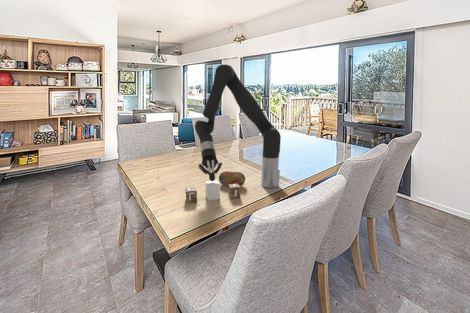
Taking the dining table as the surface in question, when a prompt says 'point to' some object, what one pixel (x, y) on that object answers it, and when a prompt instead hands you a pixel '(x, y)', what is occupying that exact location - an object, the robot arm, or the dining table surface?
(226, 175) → the tin
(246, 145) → the dining table surface
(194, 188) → the walnut block
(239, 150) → the dining table surface
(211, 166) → the robot arm
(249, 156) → the dining table surface
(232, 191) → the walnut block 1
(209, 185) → the plain block
